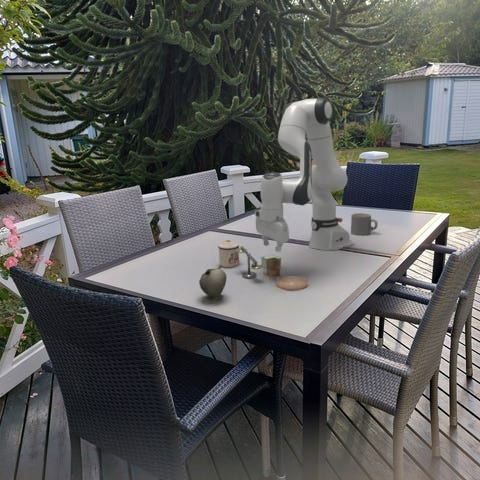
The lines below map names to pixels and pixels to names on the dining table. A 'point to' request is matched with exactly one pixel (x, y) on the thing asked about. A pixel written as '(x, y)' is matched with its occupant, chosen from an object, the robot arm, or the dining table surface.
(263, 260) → the cover
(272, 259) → the block
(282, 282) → the saucer
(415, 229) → the dining table surface
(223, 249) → the teacup with lid
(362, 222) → the coffee mug
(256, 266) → the balance
